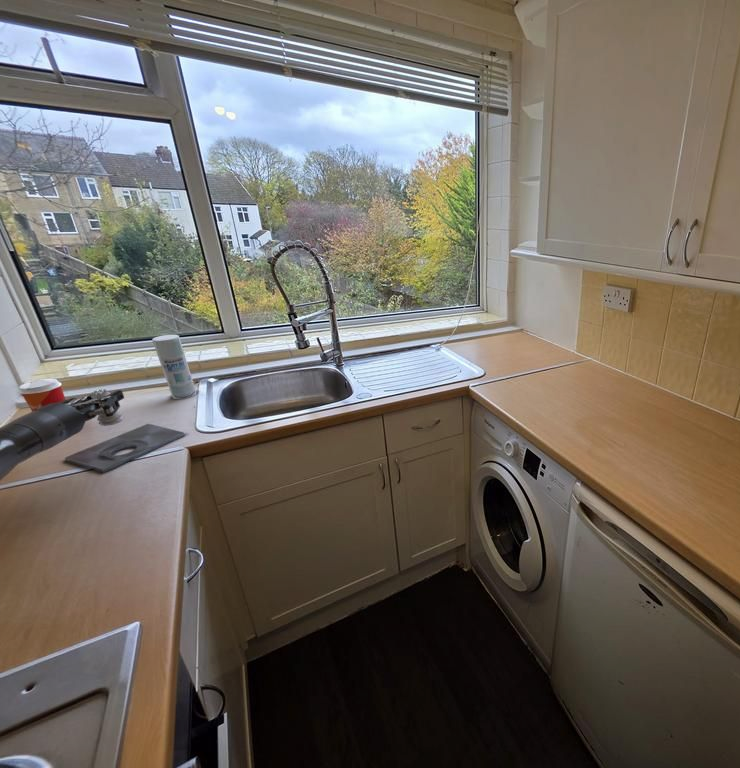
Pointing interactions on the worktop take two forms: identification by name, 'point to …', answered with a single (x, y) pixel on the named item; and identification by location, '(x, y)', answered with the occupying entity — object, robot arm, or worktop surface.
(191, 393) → the spray can
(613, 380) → the worktop surface
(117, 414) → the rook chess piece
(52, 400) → the paper cup
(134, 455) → the plate
